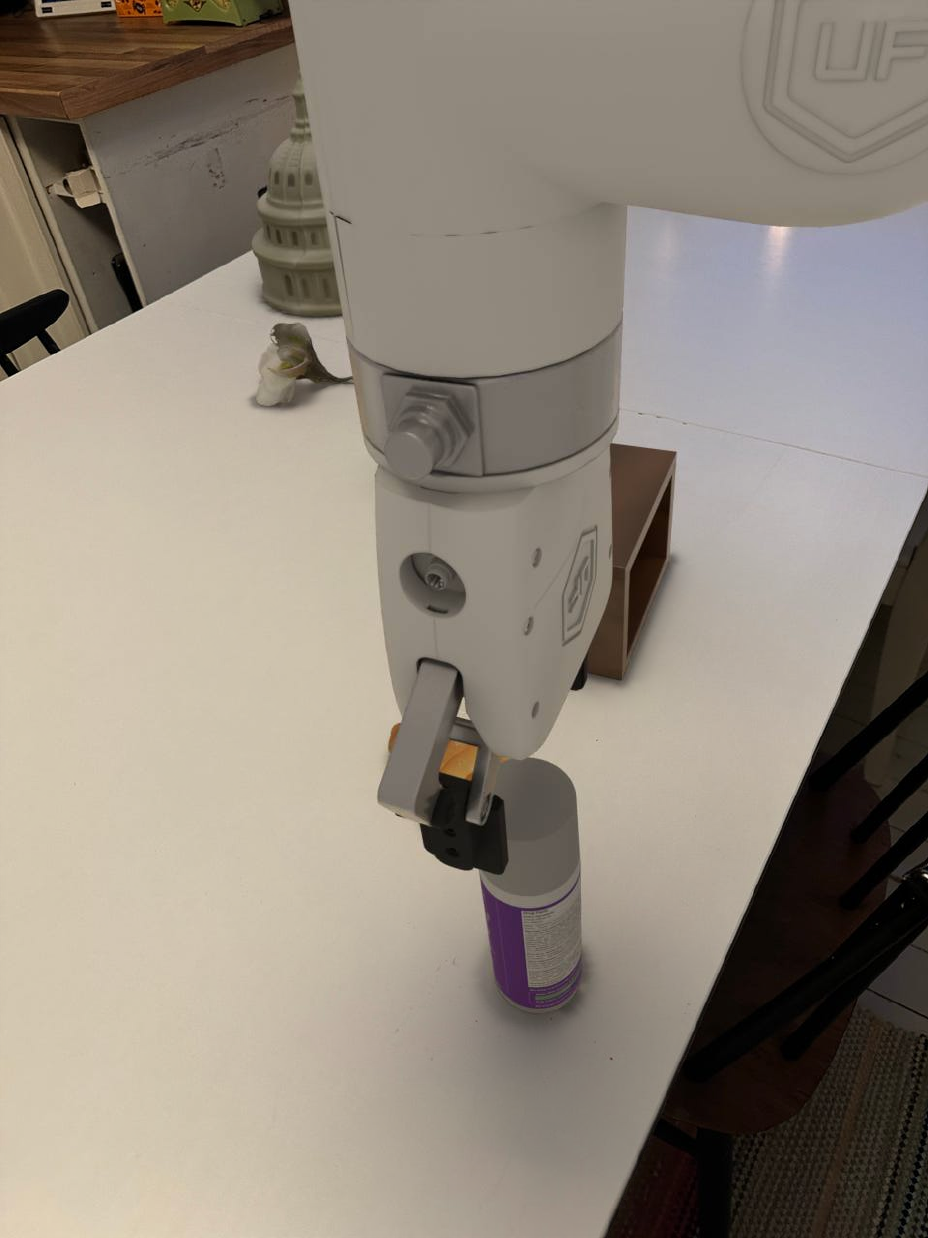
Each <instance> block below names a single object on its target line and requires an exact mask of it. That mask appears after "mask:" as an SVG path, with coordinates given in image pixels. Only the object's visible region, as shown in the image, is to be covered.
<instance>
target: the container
mask: <svg viewBox="0 0 928 1238" xmlns="http://www.w3.org/2000/svg"><path fill="white" fill-rule="evenodd" d="M494 794H495V795H497V796H499V797H500V798H501V799H502V800H504V808H505V820H506V833H507V846H508V858H509V861H508V864H507V866H506V868H505V871H504V873H503V874H501V875H496V874H492V873H489V872H486V871H483V870H479V869H478V874H479V875H478V876H479V883H480V887H481V895H482V903H483V908H484V915H485V922H486V928H487V929H486V930H487V935H488V936H487V937H488V942H489V949H490V955H491V963H492V970H493V975H494V980H495V984H496V987H497V989H498V991H499V993H500V994H501V996H502V997H503V998H504V999H505V1000H506V1002H508V1003H509V1004H511V1006H513V1007H515V1008H517V1009H518V1010H521V1011H524V1012H526V1013H527V1012H528V1013H533V1014H545V1013H550V1012H554V1011H556V1010H558V1009H560V1008H562V1007H564V1006H565V1005H566V1004H567V1003H569V1002H570V1001H571V1000H572V999H573V998H574V996H575V995H576V993H577V992H578V991H579V988H580V985H581V982H582V977H583V975H582V973H583V949H582V948H583V942H582V940H583V937H582V932H583V931H582V930H583V929H582V864H581V863H582V862H581V861H582V860H581V850H580V847H581V846H580V834H579V818H578V817H579V815H578V814H579V813H578V801H577V800H578V799H577V798H578V797H577V791H576V787H575V784H574V783H573V781H572V779H571V778H570V777H569V775H568V774H567V772H565V771H564V770H563V769H562V768H561V767H559V766H558V765H556V764H554V763H552V762H550V761H548V760H545V759H541V758H538V757H537V758H536V757H531V756H529V757H528V758H526V759H524V760H521V761H520V760H515V759H509V760H506V761H503V762H500V766H499V771H498V776H497V781H496V786H495V791H494Z"/></svg>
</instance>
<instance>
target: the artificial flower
mask: <svg viewBox="0 0 928 1238" xmlns="http://www.w3.org/2000/svg"><path fill="white" fill-rule="evenodd" d="M269 336H270V340H271V343H269V344H268V346H267V348H266V349H265V350H264V352H262V353H260V357H259V360H258V361H259V362H258V373H259V374H260V377H261V378H262V380H261V382H260V384H259V385H258V387H257V390H256V396H255V400H256V402H257V404H258V405H260V406H264V407H271V406H274V405H277V404H278V403H288V402H291V400H292V398H293V396H294V392H295V391H296V385H297V384H296V381H301V380H309V381H311V382H312V383H314V384H324V383H326V384H327V383H343V382H349V381H351V380H352V381H353V376H352V375H351V376H347V377H337V376H335V375H333V374H332V373H330V371H328V370H327V368H326V367H325V366H324V365H323V364H322V362H321V361H320V359H319V357H318V354H317V352H316V350H315V348H314V345H313V340H312V337H311V336H310V333H309V331H308V328H307V326H306V325H304V324H303V323H301V322H294V323H284V322H278V323H277V324H274V325H273V326H272V328H271V330H270V333H269ZM272 337H274V340H273V338H272Z"/></svg>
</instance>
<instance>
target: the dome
mask: <svg viewBox="0 0 928 1238" xmlns="http://www.w3.org/2000/svg"><path fill="white" fill-rule="evenodd" d="M291 97H292V99H293V100H294V104H295V113H296V117H295V119H294V125H295V126H293V127H291V129H290V130H289V134H290V135H289V137H288V138H287V139H285V140H284V141H282V142H281V143H280V145H279V146H278V147H277V148H276V149H275V150H274V152H273V153H272V155H271V156H270V157H271V158H270V159H269V162H268V166H267V172H266V187H267V189H266V192H265V193H263V194H262V195H261V196H260V197H259V199H258V200H257V202H256V212H257V214H258V216H259V218H260V219H261V224H262V225H261V226H262V227H260V229H258V231H256V232H255V234H254V235H253V237H252V239H251V250H252V253H253V255H254V257H256V258H257V264H258V268H259V272H260V276H261V281H262V284H261V295H262V297H263V299H264V301H265V302H266V303H267V304H268V305H269V306H271V307H272V308H274V309H276V310H278V311H281V312H284V313H287V314H291V315H297V316H300V317H301V316H302V317H332V316H343V314H342V308H341V302H340V296H339V290H338V284H337V279H336V273H335V267H334V261H333V255H332V249H331V244H330V238H329V233H328V227H327V222H326V216H325V211H324V205H323V200H322V194H321V188H320V182H319V176H318V171H317V165H316V159H315V153H314V147H313V141H312V136H311V130H310V124H309V118H308V112H307V106H306V101H305V95H304V89H303V83H302V77H301V72H300V69H299V70H298V71H297V81H296V83H295V86H294V89H293V90H292V92H291Z"/></svg>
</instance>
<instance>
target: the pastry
mask: <svg viewBox="0 0 928 1238" xmlns="http://www.w3.org/2000/svg"><path fill="white" fill-rule="evenodd" d="M400 724H401V722H398V723H395V724H394V725H393V726H392V728H391V730H390V736H389V738H388V745H387V750H388V754H390V753H391V750H392V747H393V744H394V741H395V738H396V736H397V733H398V730H399V727H400ZM477 749H478V747H475V746H472V745H468V744H464V743H461V742H457V741H453V740H449V742H448V745H447V748H446V751H445V754H444V757H443V760H442V763H441V767H440V770H439V772H442V773H445V774H449V775H452V776H456V777H459V778H463V779H466V780H470V781H471V779H472V774H473V769H474V764H475V759H476V754H477ZM509 759H512V758H507V757H502V756H501V761H500V762H503V761H506V760H509Z"/></svg>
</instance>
